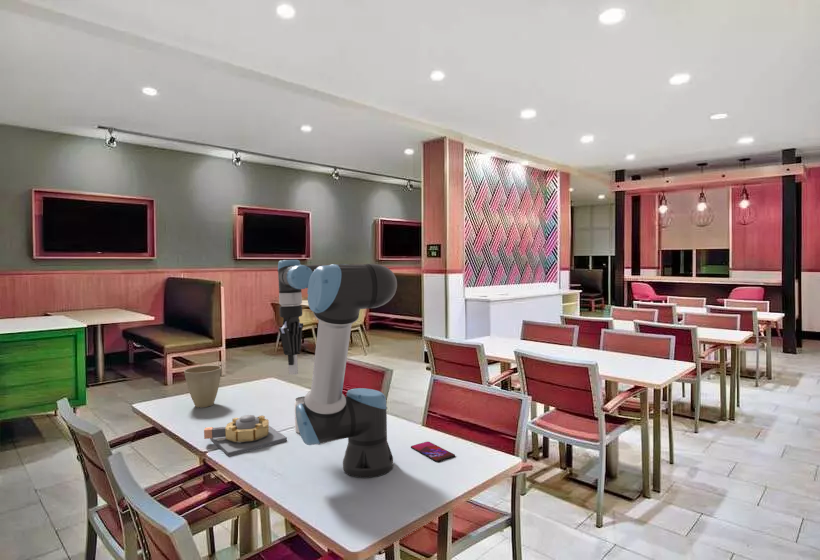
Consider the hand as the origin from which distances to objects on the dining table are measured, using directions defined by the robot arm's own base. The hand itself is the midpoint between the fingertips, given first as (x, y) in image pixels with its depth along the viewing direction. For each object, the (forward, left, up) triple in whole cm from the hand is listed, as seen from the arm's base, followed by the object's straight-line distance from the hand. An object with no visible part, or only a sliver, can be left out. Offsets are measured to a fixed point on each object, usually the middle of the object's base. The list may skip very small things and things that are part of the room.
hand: (293, 373), depth 168 cm
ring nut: (+14, +15, -22) cm, 30 cm away
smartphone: (-38, -30, -24) cm, 54 cm away
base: (+12, +12, -24) cm, 29 cm away
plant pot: (+65, +12, -24) cm, 71 cm away
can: (+7, -7, -24) cm, 26 cm away
